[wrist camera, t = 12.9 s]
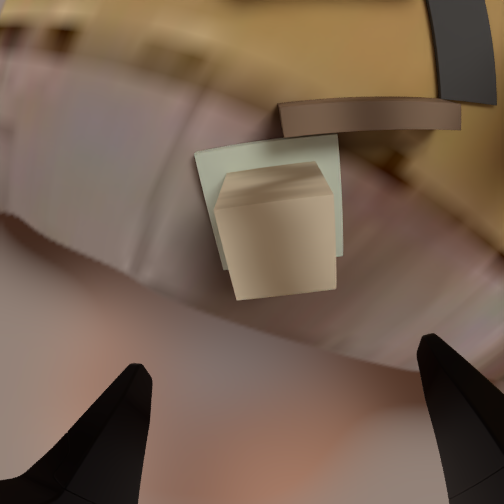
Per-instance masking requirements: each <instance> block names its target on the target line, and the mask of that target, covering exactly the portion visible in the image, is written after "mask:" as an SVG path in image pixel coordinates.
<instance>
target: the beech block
mask: <svg viewBox="0 0 504 504" xmlns="http://www.w3.org/2000/svg"><path fill="white" fill-rule="evenodd" d="M214 214H215V218H216V222H217V226H218V230H219V234H220V238H221V242H222V246H223V250H224V254H225V258H226V262H227V265H228V269H229V273H230V277H231V281H232V285H233V288H234V292H235V296H236V300H246V299H255V298H265V297H274V296H283V295H292V294H300V293H308V292H316V291H324V290H332V289H336V234H335V210H334V194H333V192H332V190H331V189H330V187H329V185H328V183H327V181H326V179H325V178H324V176H323V174H322V172H321V170H320V169H319V167H318V165H317V163H316V162H315V161H312V162H303V163H294V164H286V165H278V166H271V167H263V168H256V169H250V170H243V171H237V172H230V173H227V174H226V177H225V179H224V182H223V185H222V188H221V190H220V193H219V196H218V199H217V202H216V204H215V207H214Z"/></svg>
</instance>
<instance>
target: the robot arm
mask: <svg viewBox="0 0 504 504" xmlns="http://www.w3.org/2000/svg"><path fill="white" fill-rule="evenodd" d="M417 361H418V366H419V370H420V375H421V380H422V386H423V391H424V396H425V400H426V404H427V407H428V411H429V414H430V418H431V421H432V425H433V429H434V433H435V437H436V440H437V445H438V449H439V453H440V458H441V462H442V467H443V471H444V476H445V481H446V487H447V492H448V498H449V504H504V394H503V393H502V392H501V391H500V390H499V389H498V388H497V387H495V386H494V385H493V384H492V383H491V382H490V381H489V380H488V379H487V378H486V377H485V376H483V375H482V374H481V373H480V372H479V371H478V370H477V369H476V368H474V367H473V366H472V365H471V364H470V363H469V362H468V361H467V360H465V359H464V358H463V357H462V356H461V355H460V354H458V353H457V352H456V351H455V350H454V349H453V348H452V347H450V346H449V345H448V344H447V343H446V342H444V341H443V340H442V339H441V338H440V337H439V336H437V335H436V334H434V333H431V334H427V335H423V336H422V338H421V341H420V344H419V347H418V350H417ZM151 397H152V378H151V376H150V375H149V373H148V372H147V370H146V369H145V367H144V366H143V365H142V364H136V363H133V364H130V365H128V366H127V368H126V369H125V370H124V371H123V372H122V373H121V374H120V375H119V376H118V377H117V378H116V379H115V381H113V383H112V384H111V385H110V386H109V387H108V388H107V389H106V390H105V391H104V392H103V393H102V395H101V396H100V397H99V398H98V399H97V400H96V401H95V402H94V403H93V404H92V405H91V406H90V408H89V409H88V410H87V411H86V412H85V413H84V414H83V415H82V416H81V417H80V418H79V420H78V421H77V422H76V423H75V424H74V425H73V426H72V427H71V428H70V429H69V430H68V433H66V434H65V435H64V436H63V437H62V438H61V439H60V440H59V441H58V442H57V443H56V444H55V446H53V448H52V449H50V450H49V451H48V452H47V453H46V454H45V455H44V456H43V457H42V458H41V459H40V460H38V461H37V462H36V463H35V464H34V465H33V466H32V467H31V468H30V469H29V470H27V471H26V472H25V473H24V474H22V475H20V476H18V477H15V478H12V479H6V480H0V504H138V498H139V490H140V481H141V475H142V467H143V461H144V455H145V448H146V441H147V436H148V430H149V424H150V412H151Z"/></svg>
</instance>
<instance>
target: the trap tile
mask: <svg viewBox="0 0 504 504" xmlns="http://www.w3.org/2000/svg"><path fill="white" fill-rule="evenodd" d="M426 2H427V7H428V12H429V17H430V23H431V29H432V35H433V42H434V49H435V57H436V67H437V78H438V92H439V99H446V100H458V101H467V102H476V103H484V104H491V105H497V92H496V74H495V62H494V52H493V44H492V37H491V30H490V24H489V19H488V14H487V9H486V4H485V0H426Z"/></svg>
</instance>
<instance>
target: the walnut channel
mask: <svg viewBox="0 0 504 504" xmlns="http://www.w3.org/2000/svg"><path fill="white" fill-rule="evenodd" d="M278 109H279V115H280V122H281V128H282V132H283V135H284V138H286V137H294V136H303V135H313V134H324V133H336V132H350V131H368V130H396V129H439V130H461V104H458V103H455V102H451V101H447V100H443V99H439V98H422V97H348V98H330V99H316V100H305V101H295V102H286V103H278Z"/></svg>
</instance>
